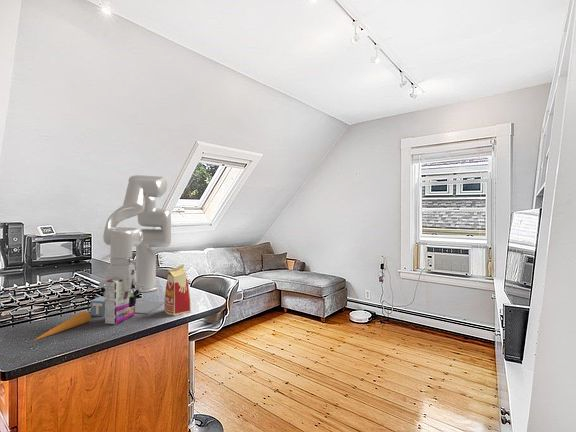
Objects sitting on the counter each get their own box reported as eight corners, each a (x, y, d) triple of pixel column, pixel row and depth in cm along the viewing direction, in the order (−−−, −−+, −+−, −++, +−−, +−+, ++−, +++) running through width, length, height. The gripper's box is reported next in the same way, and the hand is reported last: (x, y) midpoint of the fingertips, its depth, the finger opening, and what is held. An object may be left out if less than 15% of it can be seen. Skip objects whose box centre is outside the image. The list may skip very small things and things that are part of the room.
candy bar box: (124, 314, 131) (125, 274, 130) (135, 315, 130) (136, 275, 129) (103, 323, 120) (104, 280, 119) (115, 325, 119) (116, 281, 118)
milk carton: (181, 306, 143) (183, 262, 142) (191, 312, 136) (193, 265, 136) (161, 310, 136) (162, 264, 136) (171, 316, 130) (172, 267, 129)
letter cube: (100, 310, 134) (100, 296, 134) (114, 311, 134) (114, 297, 134) (90, 315, 128) (90, 300, 128) (104, 316, 128) (104, 301, 127)
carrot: (86, 322, 123) (82, 311, 123) (94, 319, 122) (90, 308, 122) (30, 348, 104) (25, 335, 104) (39, 346, 103) (34, 332, 103)
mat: (143, 301, 148) (143, 300, 148) (164, 303, 147) (164, 302, 147) (124, 312, 133) (124, 311, 133) (147, 314, 132) (147, 313, 132)
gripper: (147, 261, 127) (146, 304, 128) (106, 258, 129) (105, 301, 129) (137, 264, 120) (136, 310, 120) (93, 262, 121) (92, 306, 122)
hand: (120, 305), depth 125 cm, fingers open, 9 cm apart
